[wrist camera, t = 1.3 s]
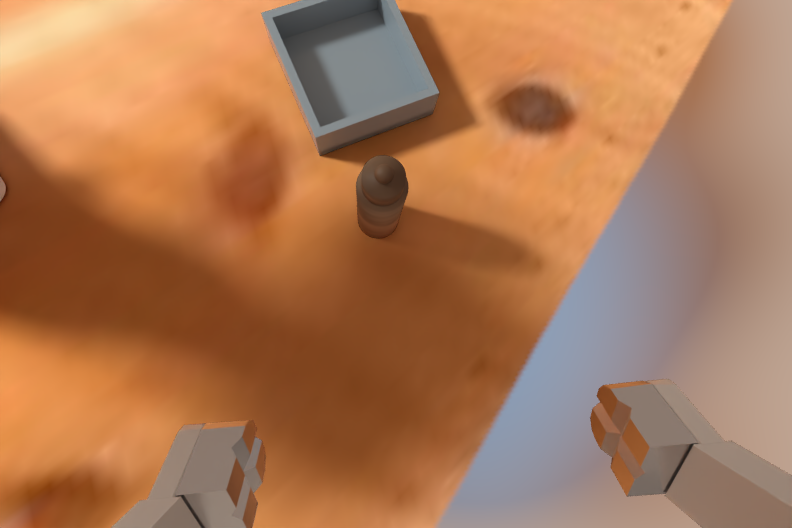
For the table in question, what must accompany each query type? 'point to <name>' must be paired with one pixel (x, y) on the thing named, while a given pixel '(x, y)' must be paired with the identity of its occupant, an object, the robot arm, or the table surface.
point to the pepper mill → (380, 195)
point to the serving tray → (350, 68)
